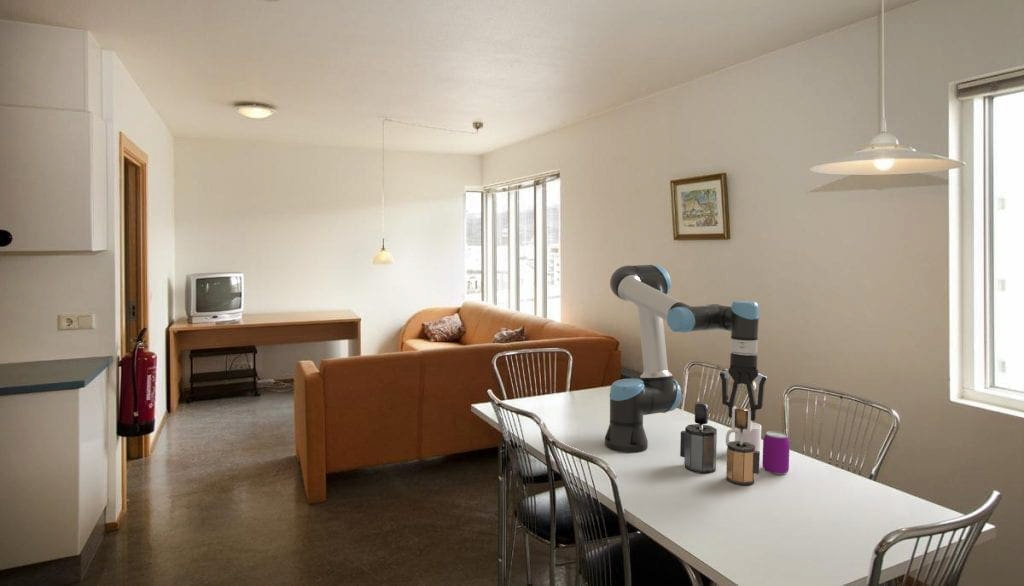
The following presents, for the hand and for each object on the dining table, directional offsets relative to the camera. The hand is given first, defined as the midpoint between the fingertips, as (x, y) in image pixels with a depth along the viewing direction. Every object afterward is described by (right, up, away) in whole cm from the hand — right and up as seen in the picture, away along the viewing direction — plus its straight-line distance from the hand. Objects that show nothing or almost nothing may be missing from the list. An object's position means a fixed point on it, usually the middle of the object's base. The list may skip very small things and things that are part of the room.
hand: (741, 429), depth 180 cm
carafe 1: (-9, -15, +11) cm, 21 cm away
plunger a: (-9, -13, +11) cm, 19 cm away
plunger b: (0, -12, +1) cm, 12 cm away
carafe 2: (0, -16, +1) cm, 16 cm away
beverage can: (+14, -15, +9) cm, 23 cm away
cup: (+10, -14, +25) cm, 30 cm away
